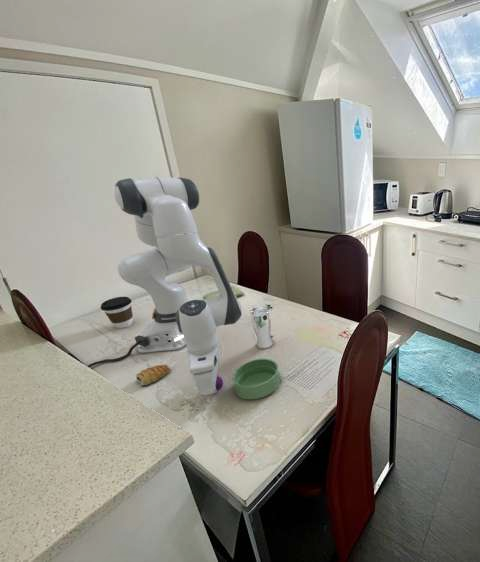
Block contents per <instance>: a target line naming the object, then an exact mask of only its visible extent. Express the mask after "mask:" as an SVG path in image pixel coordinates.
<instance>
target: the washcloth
mask: <svg viewBox="0 0 480 562" xmlns="http://www.w3.org/2000/svg"><path fill="white" fill-rule="evenodd" d="M230 286H231V288H232V291H233V293H234V295H235V296H236V298H237V299H238V298H239V297H242V296H243V295H245V293H244V291H242V290H241V289H240V288H239V287H237V286H236V285H230ZM219 295H220V293H219V291H218V290H214V291H211V292H207V293H205V294H204V295H202V299H203V300H204V299H209V298H214V297H218V296H219Z"/></svg>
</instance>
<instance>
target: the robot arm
mask: <svg viewBox="0 0 480 562" xmlns="http://www.w3.org/2000/svg"><path fill="white" fill-rule="evenodd" d="M113 195H114V196H113V197H114V200H115V202H116V204H117V205H118V206H119V208H120V209H121V211H123V212H124V213H126V214H128V215H131V216H134V222H135V229H136V235H137V236H136V237H137V238H138V239H139V240H140V241H141V242H142V243H143V244H145V245H147V246H150V247H154V248H153V249H148V250H145V251H141V252H136V253H133V254H131V255H129V256H126V257H124V258H122V259H120V260H119V262H118V264H117V265H118V266H117V272H118V275H119V277H120V278H121V279H122V281H124V282H125V283H127V284H129V285H133V286H137V287H140V288H141V289H143V290H144V291H146V292H147V293H148V294H149V295H150V297H151V300H152V302H153V304H154V306H155V307H154V309H153V312H152V316H151V319H152V321H151V322H150V323H149V324H148V325H147V326H146V327H145V328H144V330H143V331H142V335H140V334H139V335H136V336H135V337H133V338H134V340H135V343H134V344H133V345H132V346H131V347H130V348H129V349H128V351H127V353H126V354H124V355H122V356H120V357H116V358H106V359H102V360H98V361H94V362H92V363H90V364H88V365H87V366H88V367H90V368H91V367H93V366H96V365H100V364H103V363H108V362H109V363H111V362H117V361H122V360H124V359H125V358H127V357H129V356H130V355H131V354H132V352H133V350H134V349H135V348H136V347H137V350H138V353H139V354H145V353H153V352H154V353H157V352H165V351H166V352H167V351H176V350H181V349H182V348H183V347H185V346H186V350H187V354H188V358H189V362H188V363H189V364H188V365H189V366H188V368H189V369H188V371H189V374H190V375H193V379H194V383H195V385H196V389H197V391H198V393H199V394H200V395H201V396H208V395H213V394H217V392H218V391H217V387H216V386H215V385H216V379H217V376H219V366H220V358H221V356H222V353H223V349H222V346H221V341H220V337H219V335H218V334H217V332H216V331H217V327H221V326H228V325H235V324H236V323H237V322H238V321H239V320H240V319H241V317H242V316H243V310H242V305H241V302H240V300H239V299H238V297H237V298H236V296H235V295H234V293H233V291H232V288H231V286H232V285H231V283H230V281H229V279H228V277H227V275H226V272H225V270H224V268H223V265H222V264H221V262H220V260H219V258H218V255H217V253H216V252H215V250H214V249H213V248H212V247H209V246H207V245H205V244H204V242H203V241H202V239H201V238H200V234H199V232H198V231H199V230H198V227H197V224H196V220H195V218H194V215H193V214H192V211H193V210H195V209H196V208H198V206H199V204H200V192H199V189H198V187H197V185H196V183H195V182H194V181H193V180H191V179H189V178H186V177H180V176H179V177H170V176H169V177H168V176H155V177H140V178H123V179H120V180H117V182H116V183H115V184H114V191H113ZM192 267H196V268H202V269H204V270H206V271H207V272H208V273H209V274H210V275H211V278H212V280H213V282H214V284H215V286H216V288H217V291H219V293H220V295H219V296H218V297H214V298H209V299H204V298H203V299H192V300H189V299H188V297H187V293H186V290H185V288H184V286H182V285H181V284H179V283H175V282H167V281H166V277H168V276H172V275H175V274H179V273H182V272H184V271H186V270H188V269H190V268H192ZM219 377H220V376H219Z"/></svg>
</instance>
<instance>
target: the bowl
mask: <svg viewBox="0 0 480 562" xmlns="http://www.w3.org/2000/svg"><path fill="white" fill-rule="evenodd" d="M280 374H281V373H280V369H279V364H278V363H277V362H276V361H275V360H273V359H271V358H256V359H252V360H249V361H247V362H245V363H243V364H241V365H240V366H239V367H238V368H237V369H236V370H235V371H234V373H233V375H232V381H233V382H232V383H233V386H234V391H235V394H236V395H237V396H238V397H240V398H241V399H244V400H258V399H262V398H265V397H266V396H269V395H270V394H272V393H273V392H274V391H276V390H277V388H278V387H279V386H280V382H281V375H280Z"/></svg>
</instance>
